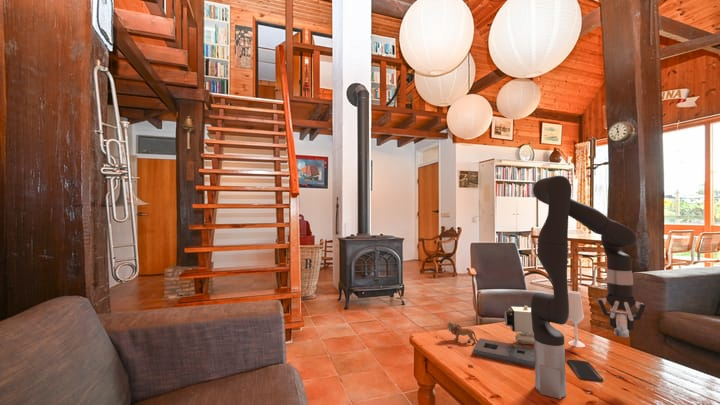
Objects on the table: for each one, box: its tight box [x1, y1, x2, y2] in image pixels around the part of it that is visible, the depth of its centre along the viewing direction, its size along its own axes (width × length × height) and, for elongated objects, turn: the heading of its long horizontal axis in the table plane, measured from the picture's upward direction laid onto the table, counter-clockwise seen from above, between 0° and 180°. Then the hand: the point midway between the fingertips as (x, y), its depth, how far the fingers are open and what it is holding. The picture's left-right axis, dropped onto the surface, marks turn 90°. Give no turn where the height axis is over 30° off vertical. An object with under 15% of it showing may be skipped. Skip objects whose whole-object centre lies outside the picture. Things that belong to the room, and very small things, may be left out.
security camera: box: [503, 305, 551, 346], centre depth 150 cm, size 18×8×18 cm, turn 75°
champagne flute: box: [567, 290, 586, 348], centre depth 149 cm, size 7×7×24 cm
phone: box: [566, 358, 604, 383], centre depth 124 cm, size 8×1×15 cm
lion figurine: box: [447, 321, 479, 346], centre depth 154 cm, size 15×5×9 cm, turn 72°
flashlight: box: [613, 310, 630, 338], centre depth 117 cm, size 4×4×8 cm
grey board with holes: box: [472, 338, 535, 369], centre depth 139 cm, size 14×24×2 cm, turn 59°
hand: (621, 328), depth 116 cm, fingers closed on flashlight, 4 cm apart
